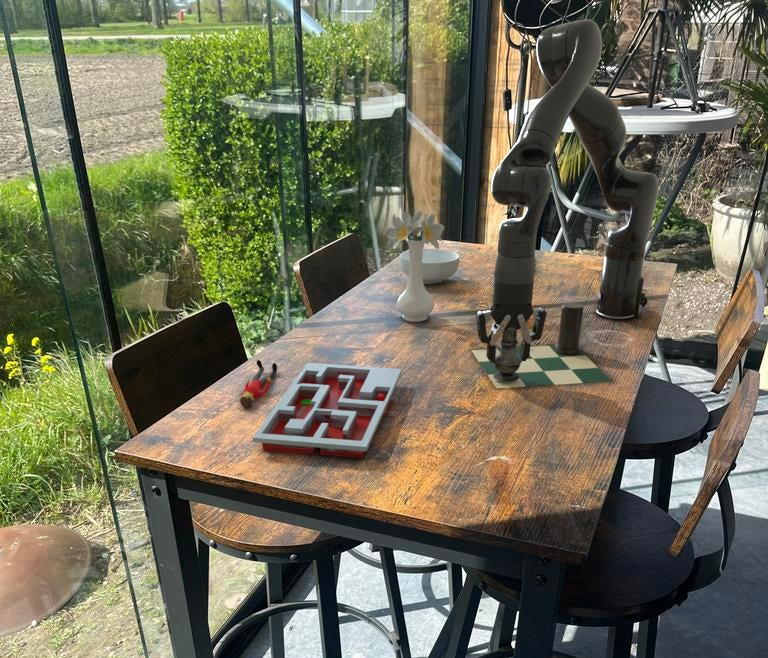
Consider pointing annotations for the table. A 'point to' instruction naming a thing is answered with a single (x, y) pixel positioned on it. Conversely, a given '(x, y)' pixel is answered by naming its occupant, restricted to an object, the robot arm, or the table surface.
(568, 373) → the chess mat
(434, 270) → the cereal bowl
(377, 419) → the maze game
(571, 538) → the table surface
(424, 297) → the flower vase
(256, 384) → the person figure
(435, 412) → the table surface
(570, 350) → the dark grey cylinder
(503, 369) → the grey tall turned piece
